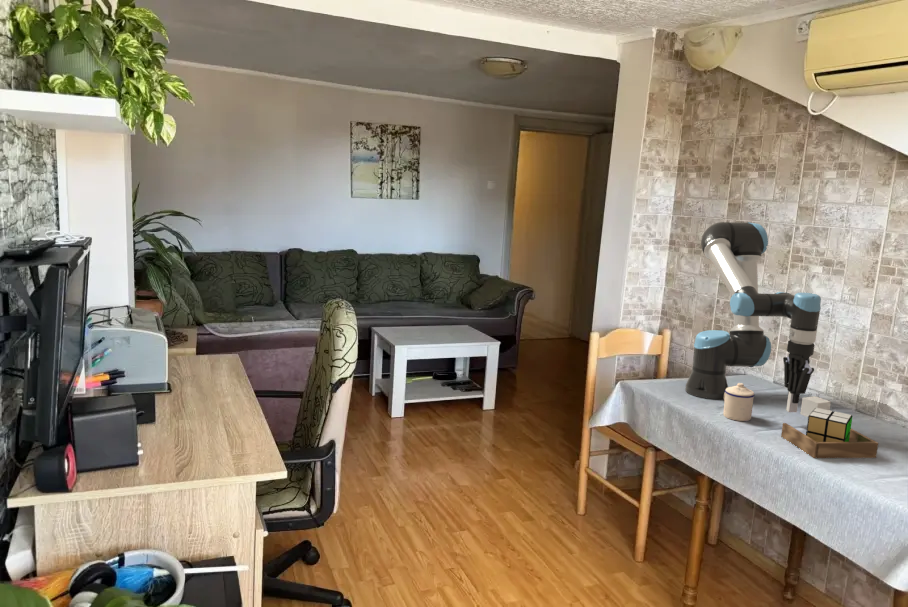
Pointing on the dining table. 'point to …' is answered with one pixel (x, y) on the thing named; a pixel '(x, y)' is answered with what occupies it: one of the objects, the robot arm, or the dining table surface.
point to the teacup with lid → (738, 403)
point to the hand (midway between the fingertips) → (791, 411)
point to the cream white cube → (813, 405)
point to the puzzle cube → (828, 426)
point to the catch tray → (832, 445)
